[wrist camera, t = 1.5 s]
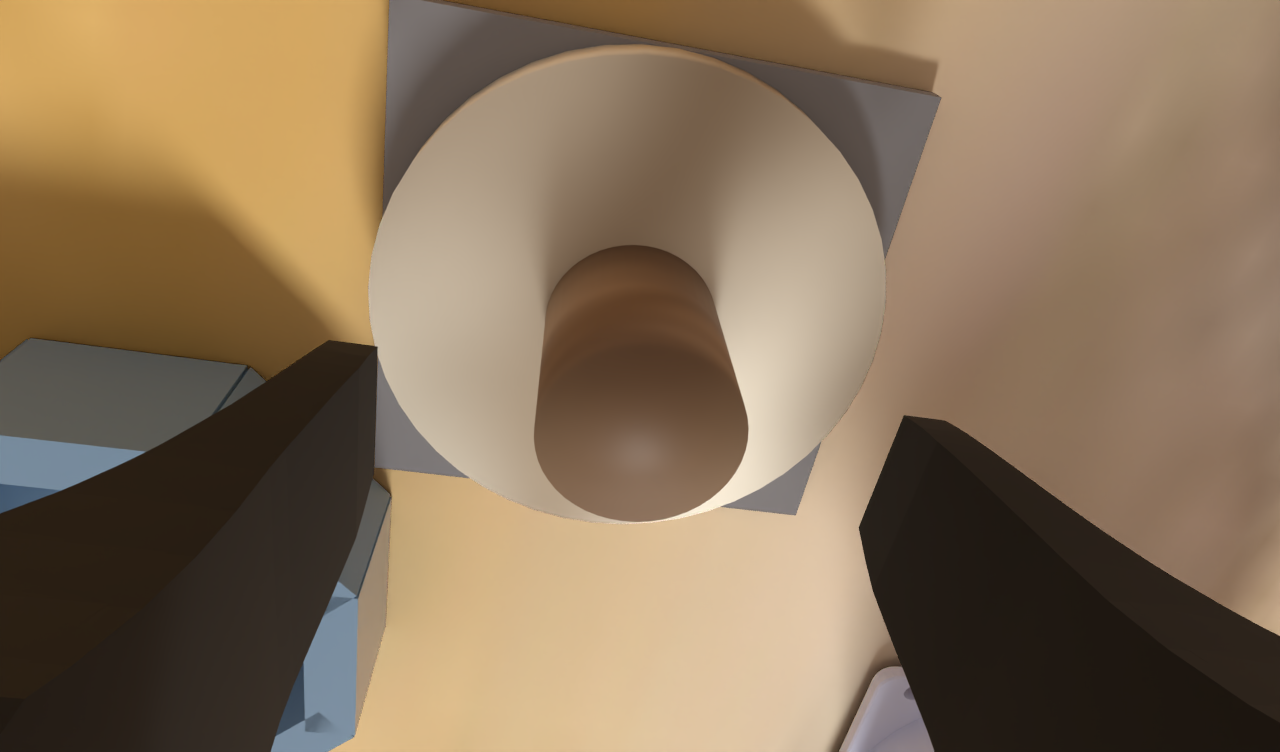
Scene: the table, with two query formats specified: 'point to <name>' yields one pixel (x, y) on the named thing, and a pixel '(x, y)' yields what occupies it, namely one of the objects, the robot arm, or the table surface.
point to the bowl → (148, 416)
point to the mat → (503, 42)
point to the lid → (627, 285)
